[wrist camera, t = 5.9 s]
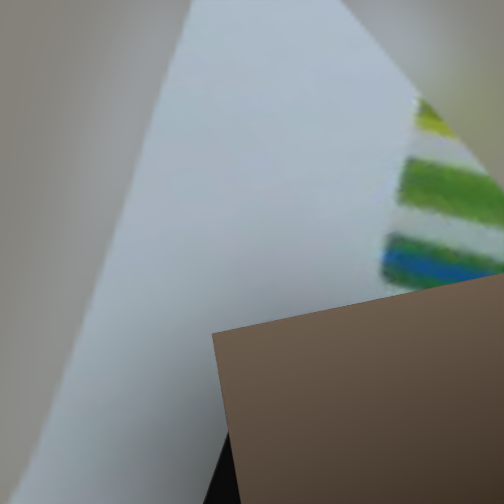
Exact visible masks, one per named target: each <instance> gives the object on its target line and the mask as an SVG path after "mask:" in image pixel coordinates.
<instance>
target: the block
mask: <svg viewBox="0 0 504 504" xmlns="http://www.w3.org/2000/svg"><path fill="white" fill-rule="evenodd" d="M212 338H213V344H214V350H215V356H216V361H217V367H218V373H219V379H220V384H221V390H222V396H223V402H224V408H225V413H226V419H227V425H228V431H229V437H230V442H231V448H232V454H233V460H234V465H235V471H236V477H237V483H238V489H239V494H240V500H241V504H504V273H501V274H497V275H492V276H487V277H482V278H477V279H473V280H468V281H463V282H458V283H453V284H449V285H444V286H439V287H434V288H429V289H424V290H420V291H415V292H410V293H405V294H400V295H396V296H391V297H386V298H381V299H376V300H372V301H367V302H362V303H357V304H352V305H348V306H343V307H338V308H333V309H328V310H324V311H319V312H314V313H309V314H304V315H300V316H295V317H290V318H285V319H280V320H276V321H271V322H266V323H261V324H256V325H252V326H247V327H242V328H237V329H232V330H228V331H223V332H218V333H213V334H212Z"/></svg>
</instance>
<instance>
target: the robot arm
mask: <svg viewBox="0 0 504 504" xmlns="http://www.w3.org/2000/svg"><path fill="white" fill-rule="evenodd" d="M203 504H241V500H240V494H239V489H238V483H237V477H236V471H235V465H234V460H233V454H232V448H231V442H230V437H229V431H228V433H227V436H226V439H225V442H224V445H223V448H222V451H221V453H220V456H219V459H218V462H217V465H216V468H215V471H214V473H213V476H212V479H211V482H210V485H209V488H208V491H207V493H206V496H205V499H204V502H203Z"/></svg>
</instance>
